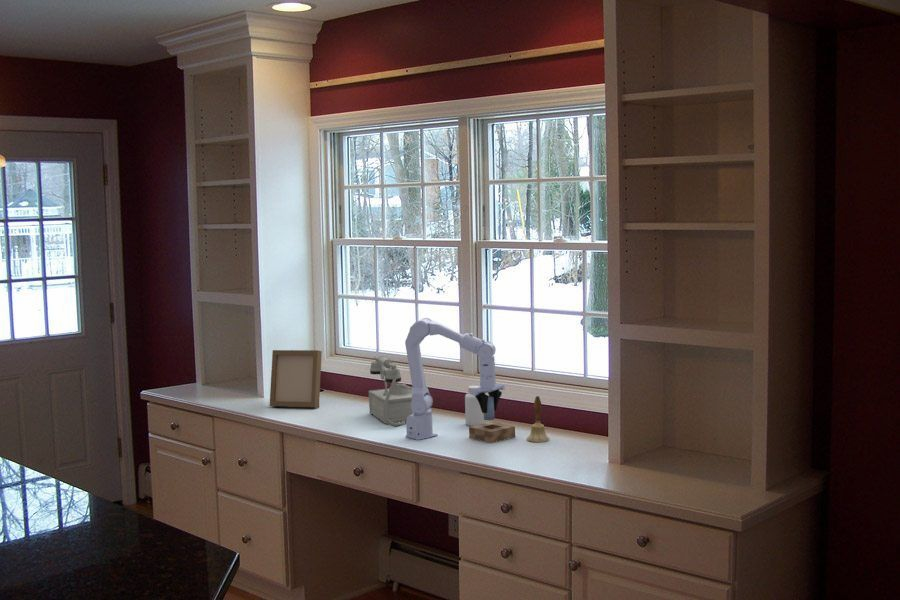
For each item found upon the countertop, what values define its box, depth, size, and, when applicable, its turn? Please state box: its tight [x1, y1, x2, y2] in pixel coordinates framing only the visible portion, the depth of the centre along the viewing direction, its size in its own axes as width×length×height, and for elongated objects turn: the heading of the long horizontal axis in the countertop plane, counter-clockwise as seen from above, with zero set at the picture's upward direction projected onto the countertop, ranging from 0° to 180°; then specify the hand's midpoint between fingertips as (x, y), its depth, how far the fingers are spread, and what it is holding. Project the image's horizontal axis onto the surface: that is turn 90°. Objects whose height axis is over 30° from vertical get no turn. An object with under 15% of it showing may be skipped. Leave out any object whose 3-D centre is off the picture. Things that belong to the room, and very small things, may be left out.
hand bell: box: [526, 395, 550, 443], centre depth 354 cm, size 8×8×16 cm
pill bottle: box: [464, 385, 487, 427], centre depth 383 cm, size 8×8×15 cm
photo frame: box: [269, 349, 323, 408], centre depth 433 cm, size 15×22×25 cm
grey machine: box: [368, 355, 413, 427], centre depth 399 cm, size 32×20×25 cm, turn 21°
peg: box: [484, 397, 495, 421], centre depth 361 cm, size 4×4×8 cm
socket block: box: [468, 421, 516, 444], centre depth 361 cm, size 12×12×4 cm
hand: (489, 411), depth 361 cm, fingers closed on peg, 4 cm apart
